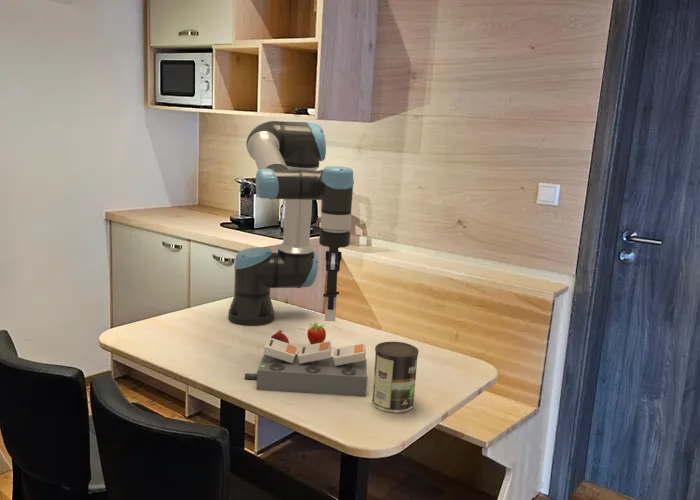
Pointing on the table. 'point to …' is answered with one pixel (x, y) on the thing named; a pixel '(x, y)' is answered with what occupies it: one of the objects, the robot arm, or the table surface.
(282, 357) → the panel
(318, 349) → the rocker
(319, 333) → the fruit
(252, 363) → the table surface
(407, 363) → the coffee can
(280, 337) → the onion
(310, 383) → the power strip
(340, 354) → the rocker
